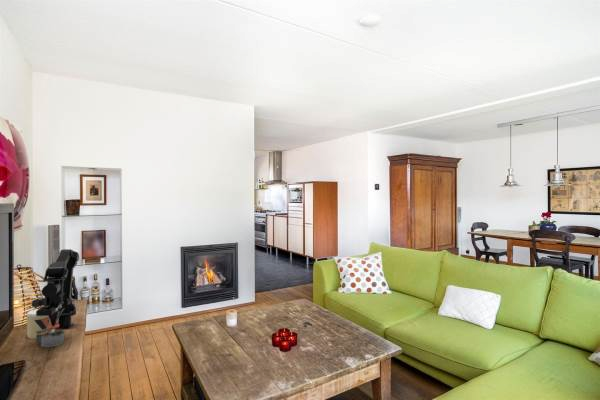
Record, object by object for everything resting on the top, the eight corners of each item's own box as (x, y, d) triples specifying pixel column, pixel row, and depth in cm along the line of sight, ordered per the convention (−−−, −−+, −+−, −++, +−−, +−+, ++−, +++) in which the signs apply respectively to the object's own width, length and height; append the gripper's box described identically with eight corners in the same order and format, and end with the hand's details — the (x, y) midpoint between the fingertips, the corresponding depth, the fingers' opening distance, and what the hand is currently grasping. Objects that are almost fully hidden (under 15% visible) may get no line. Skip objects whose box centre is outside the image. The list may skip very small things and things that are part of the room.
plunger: (50, 333, 156) (50, 323, 156) (60, 333, 157) (61, 322, 157) (44, 337, 152) (45, 326, 152) (55, 337, 152) (56, 326, 152)
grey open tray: (41, 340, 157) (42, 331, 157) (66, 339, 159) (67, 330, 159) (31, 348, 149) (31, 338, 149) (57, 347, 151) (58, 337, 151)
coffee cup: (35, 340, 157) (37, 315, 157) (20, 337, 159) (21, 313, 159) (53, 332, 166) (55, 309, 166) (39, 330, 168) (40, 307, 168)
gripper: (47, 286, 162) (45, 318, 162) (23, 297, 144) (21, 332, 144) (72, 286, 164) (70, 317, 164) (51, 297, 146) (49, 332, 146)
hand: (53, 324), depth 154 cm, fingers closed, pressing on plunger
